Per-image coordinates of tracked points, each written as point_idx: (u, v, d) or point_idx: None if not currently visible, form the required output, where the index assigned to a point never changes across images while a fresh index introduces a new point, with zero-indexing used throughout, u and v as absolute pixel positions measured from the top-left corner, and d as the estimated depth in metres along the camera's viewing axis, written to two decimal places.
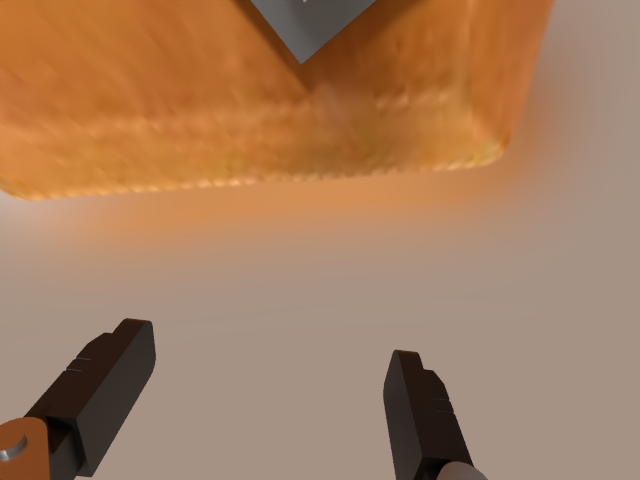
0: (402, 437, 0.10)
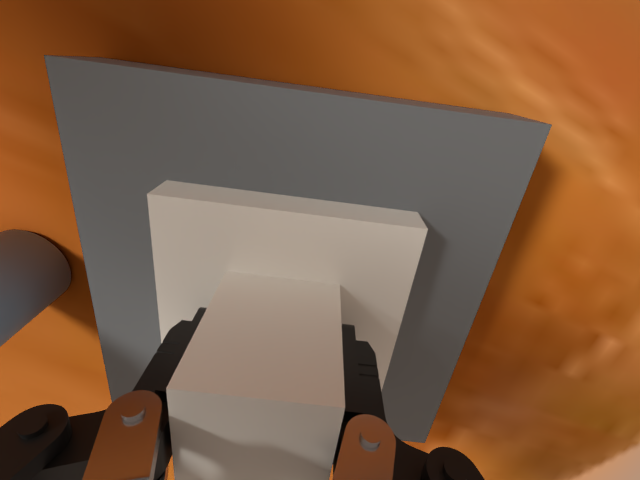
0: None
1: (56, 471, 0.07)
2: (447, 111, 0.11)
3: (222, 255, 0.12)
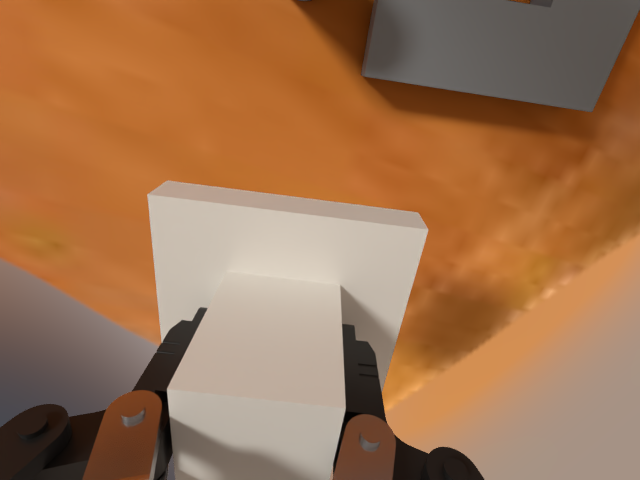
0: None
1: (56, 471, 0.07)
2: None
3: (223, 256, 0.12)
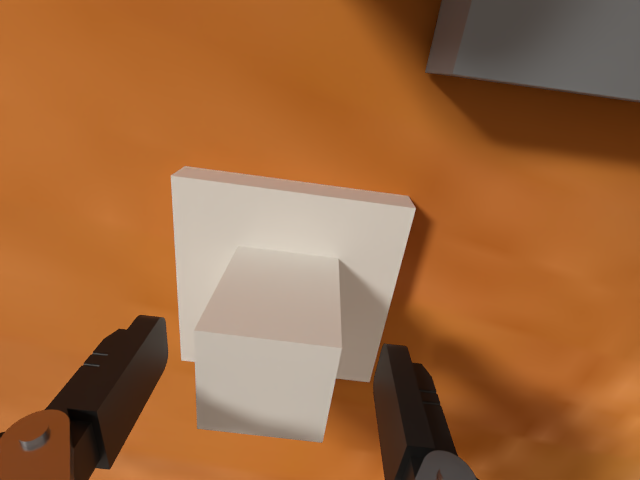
0: (389, 428, 0.10)
1: None
2: None
3: (235, 231, 0.14)
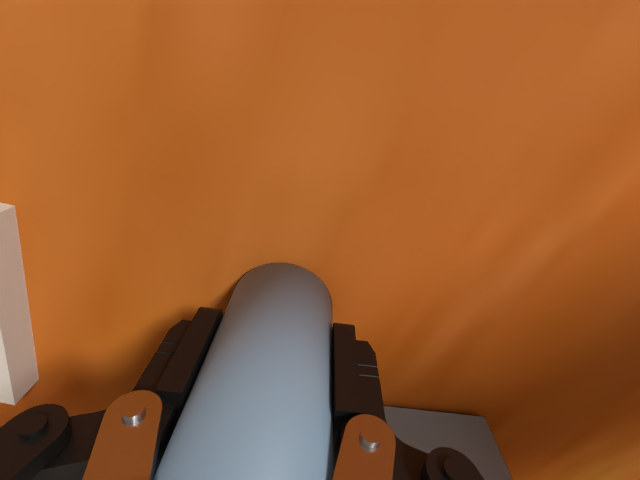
0: None
1: (56, 471, 0.07)
2: None
3: None
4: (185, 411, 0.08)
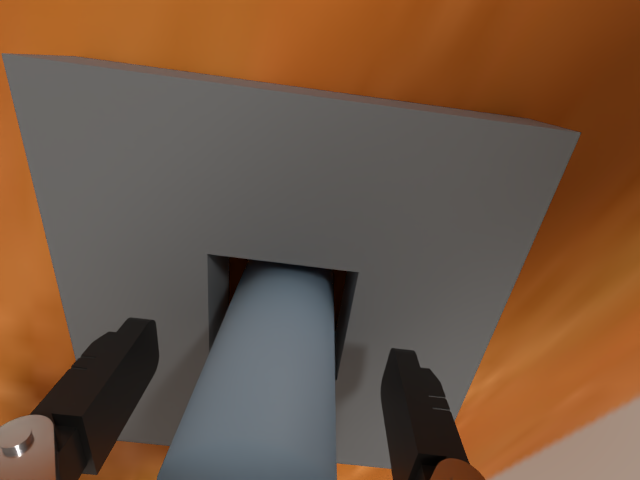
0: (398, 434, 0.10)
1: None
2: None
3: None
4: (213, 350, 0.10)
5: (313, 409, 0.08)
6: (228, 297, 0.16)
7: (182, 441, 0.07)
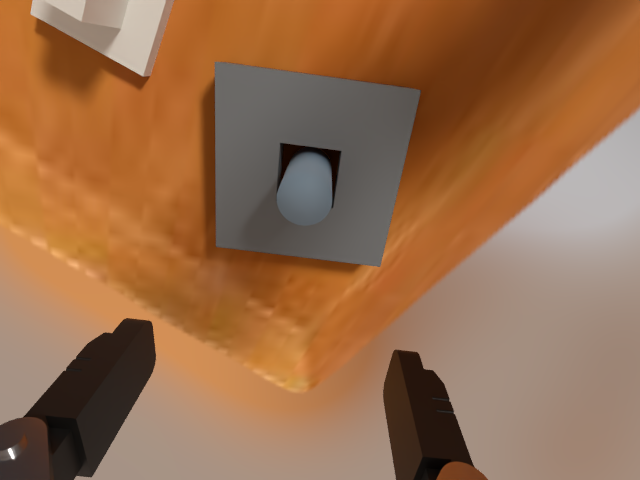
0: (402, 437, 0.10)
1: None
2: None
3: None
4: (287, 170, 0.28)
5: (324, 176, 0.26)
6: (280, 178, 0.34)
7: (286, 178, 0.25)
